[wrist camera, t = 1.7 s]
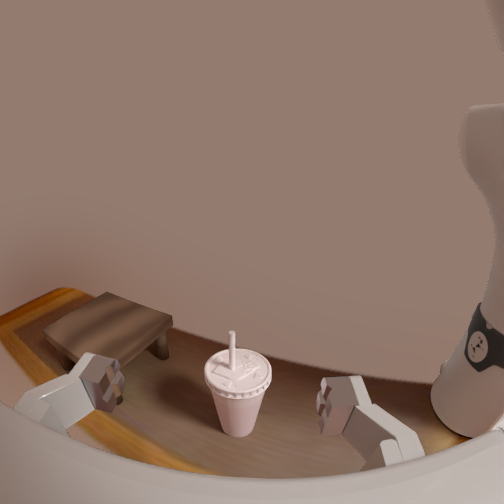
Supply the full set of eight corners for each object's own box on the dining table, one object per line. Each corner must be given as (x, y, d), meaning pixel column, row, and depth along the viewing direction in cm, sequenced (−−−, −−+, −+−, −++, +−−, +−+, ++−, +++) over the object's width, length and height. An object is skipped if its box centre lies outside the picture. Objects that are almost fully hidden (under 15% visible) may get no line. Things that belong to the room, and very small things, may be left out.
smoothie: (205, 409, 30) (195, 316, 25) (255, 400, 32) (261, 308, 27) (216, 451, 24) (207, 361, 20) (273, 439, 26) (288, 347, 21)
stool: (177, 353, 40) (171, 315, 37) (117, 412, 27) (100, 372, 25) (114, 326, 44) (106, 291, 42) (56, 367, 32) (41, 329, 30)
